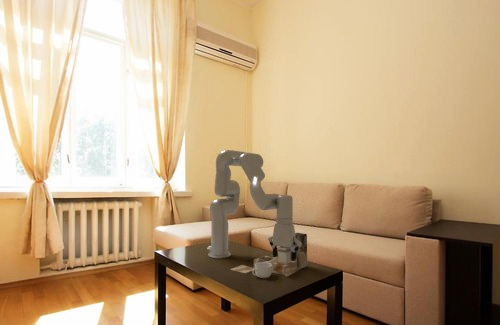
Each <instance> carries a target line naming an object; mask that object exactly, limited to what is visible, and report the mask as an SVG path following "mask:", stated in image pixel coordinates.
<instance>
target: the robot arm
mask: <svg viewBox="0 0 500 325" xmlns="http://www.w3.org/2000/svg"><path fill="white" fill-rule="evenodd" d="M230 166H233V167H241V169H242V170H243V172H244V173H245V175H246V177H247V179H248V180H249V182H250V183H249V190H250V195H251V199H252V200H253V201H254V203H255V205H256V206H257V208H258V209H260V210H262V211H270V210H276V217H274V221H275V222H276V223H274V225H273V226H274V227H273V232H272V236H269V237H268V239H267V240H268V242H269V245H270V246H271V249H272V257H276V258H277V257H278V247H280V246H281V247H287V248H291V250H292V252H291V260H292V261H294V260H296V251H297V250H298V249H299V248H300V246H301V244H302V243H301V242H300V241H299V240H297V239H296V238H295V233H296V228H295V225H294V223H293V218H294V217H293V215H294V212H293V210H294V209H293V208H294V207H293V206H294V205H293V204H294V203H293V201H294V200H293V196H292V195H289V194H278V193H265V192H266V191H264V189H263V187H262V183H261V182H262V181H263V180H264V179H265V177H266V174H265V172H264V170H263V169H262V167H263V166H264V158H263V157H262V155H261V154H259V153H253V152H248V151H247V152H246V151H240V150H232V149H230V150H229V149H226V150H222V151H220V152H219V153H218V154H217V156H216V160H215V179H214V180H215V181H214V195H216V196H217V197H220V198H217V199H213V201H211V203H210V204H209V211H210V219H211V225H210V226H211V228H210V229H211V231H210V235H211V236H210V237H211V238H210V241H211V242H210V245H208V247H207V248H206V250H207V251H209V252H208V253H207V256H208V257H209V258H211V259H225V258H228V257H231V252H230V251H229V221H228V218H227V216H232V215H234V214H236V213H237V212H238V209H239V204H240V194H241V186H240V183H238V181H237V180H235V179H231V178H232V172H231V168H230ZM222 197H224V198H222ZM225 197H226V198H225ZM295 243H297V247H296V246H295Z"/></svg>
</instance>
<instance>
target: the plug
mask: <svg viewBox="0 0 500 325" xmlns="http://www.w3.org/2000/svg"><path fill="white" fill-rule="evenodd" d="M277 248H278V256H277V258H278V263H283V264H284V265H288V264H290V248H287V247H281V246H277Z"/></svg>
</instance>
